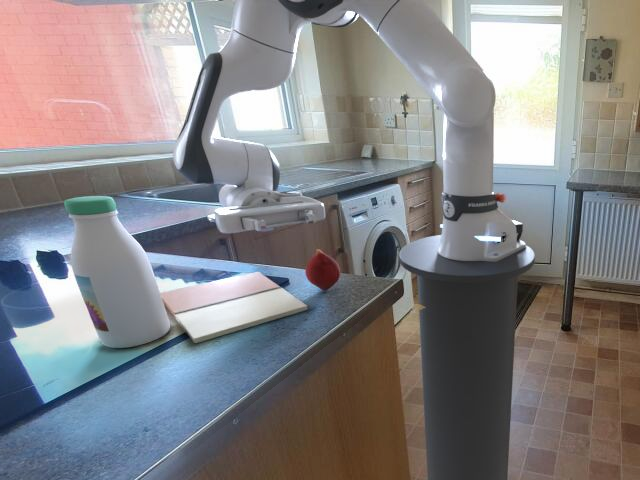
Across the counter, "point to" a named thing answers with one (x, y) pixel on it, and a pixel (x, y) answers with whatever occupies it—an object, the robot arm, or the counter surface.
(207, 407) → the counter surface
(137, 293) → the milk bottle
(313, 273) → the onion
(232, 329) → the sorting board
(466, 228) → the robot arm
